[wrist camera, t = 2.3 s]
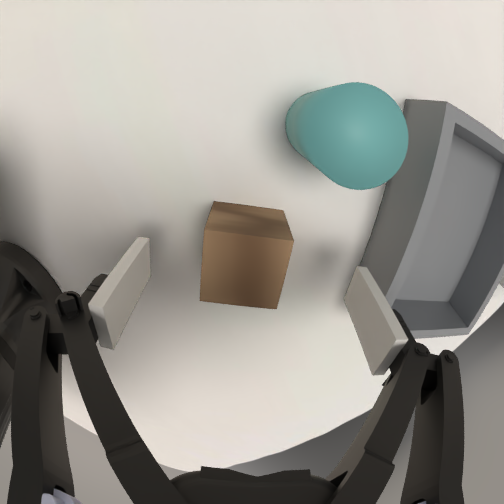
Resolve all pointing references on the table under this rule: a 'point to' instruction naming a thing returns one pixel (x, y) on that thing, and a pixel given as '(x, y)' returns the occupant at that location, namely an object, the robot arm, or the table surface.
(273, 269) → the cube
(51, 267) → the table surface
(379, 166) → the cylinder
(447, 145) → the tote
